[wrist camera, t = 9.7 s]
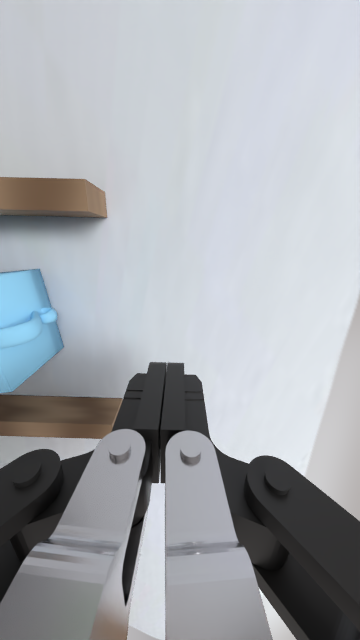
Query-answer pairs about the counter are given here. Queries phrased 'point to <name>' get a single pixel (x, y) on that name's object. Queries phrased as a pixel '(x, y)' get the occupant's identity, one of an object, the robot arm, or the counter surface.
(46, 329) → the teapot
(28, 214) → the bracket
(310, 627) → the robot arm
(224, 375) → the counter surface
